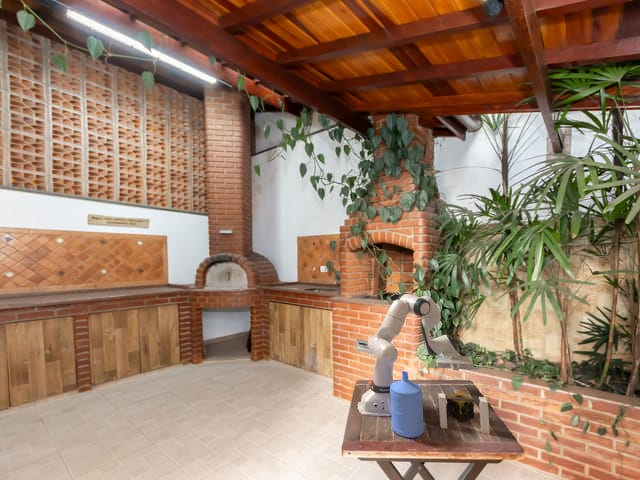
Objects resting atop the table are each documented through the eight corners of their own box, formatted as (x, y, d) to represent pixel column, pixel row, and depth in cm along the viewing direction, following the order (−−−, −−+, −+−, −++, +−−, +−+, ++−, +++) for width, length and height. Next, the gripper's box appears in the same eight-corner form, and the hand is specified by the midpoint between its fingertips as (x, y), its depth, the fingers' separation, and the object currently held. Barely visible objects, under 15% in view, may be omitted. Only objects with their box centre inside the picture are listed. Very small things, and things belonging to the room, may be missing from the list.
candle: (446, 413, 165) (444, 394, 166) (460, 409, 169) (459, 391, 169) (460, 422, 156) (459, 402, 156) (475, 418, 159) (474, 399, 160)
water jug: (426, 440, 142) (423, 379, 144) (392, 437, 146) (389, 377, 147) (421, 421, 158) (419, 367, 159) (391, 419, 161) (388, 366, 162)
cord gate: (440, 427, 152) (439, 397, 153) (440, 422, 157) (438, 392, 157) (489, 433, 145) (487, 402, 146) (487, 428, 150) (485, 397, 151)
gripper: (434, 354, 190) (436, 362, 176) (470, 356, 184) (474, 364, 170) (435, 364, 189) (437, 373, 176) (471, 366, 183) (475, 375, 170)
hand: (456, 368), depth 173 cm, fingers closed
